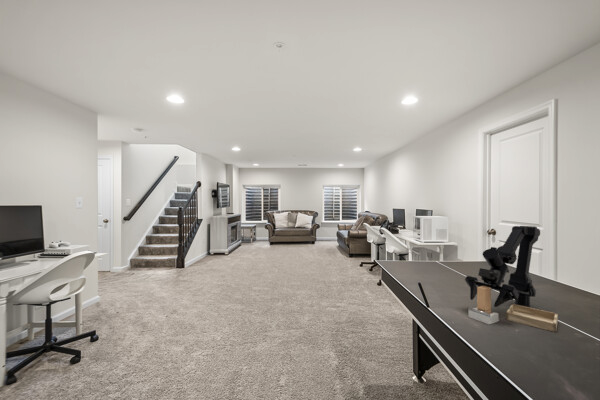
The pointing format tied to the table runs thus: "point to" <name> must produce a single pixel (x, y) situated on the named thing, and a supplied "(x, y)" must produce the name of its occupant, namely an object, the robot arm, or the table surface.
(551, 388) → the table surface
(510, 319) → the tray
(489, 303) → the orange post
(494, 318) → the white piece
